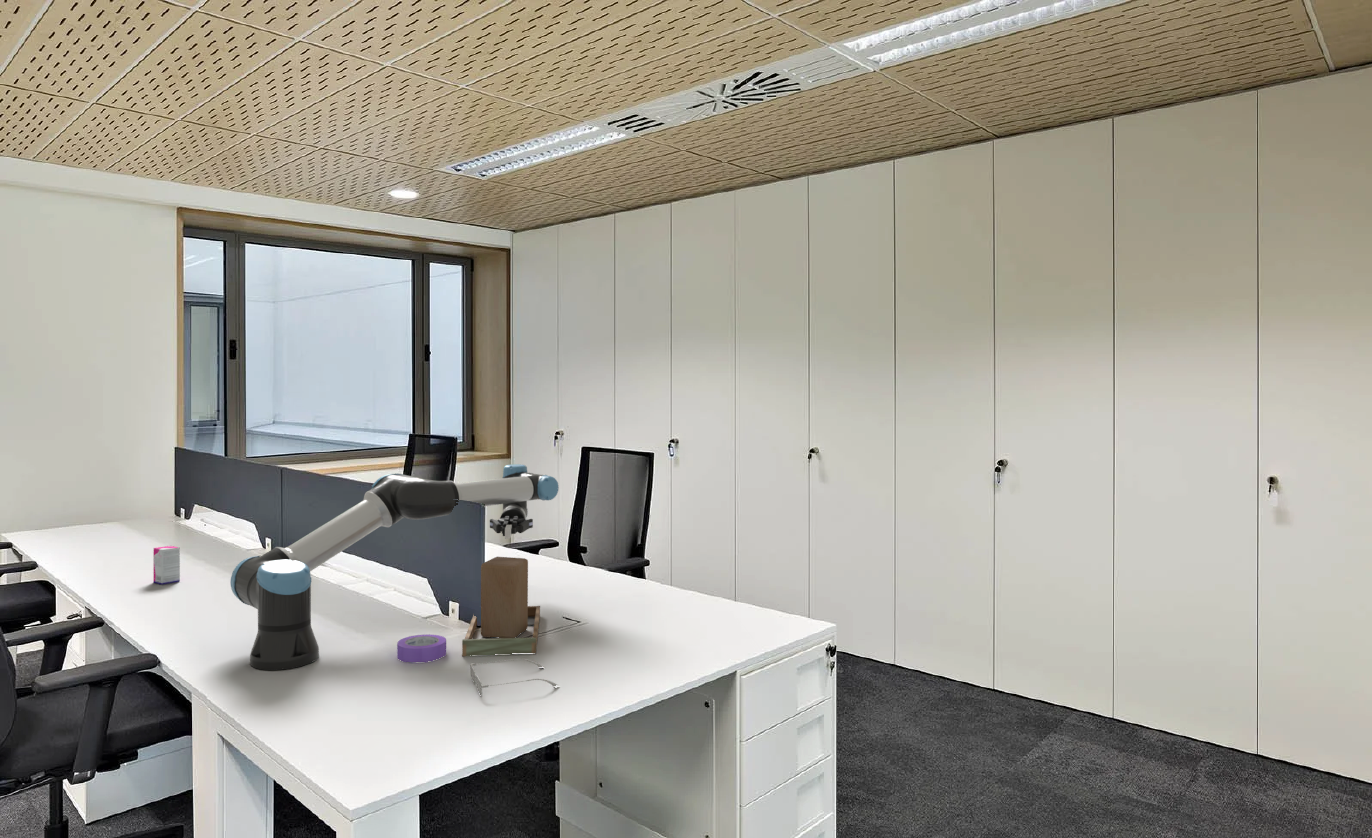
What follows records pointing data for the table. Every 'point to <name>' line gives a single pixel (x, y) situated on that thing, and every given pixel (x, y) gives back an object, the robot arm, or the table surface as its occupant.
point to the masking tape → (421, 648)
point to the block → (504, 597)
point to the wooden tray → (502, 639)
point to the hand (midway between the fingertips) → (507, 533)
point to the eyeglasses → (480, 686)
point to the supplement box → (166, 565)
